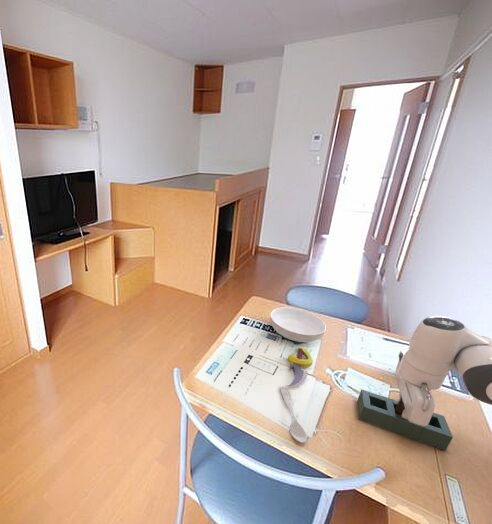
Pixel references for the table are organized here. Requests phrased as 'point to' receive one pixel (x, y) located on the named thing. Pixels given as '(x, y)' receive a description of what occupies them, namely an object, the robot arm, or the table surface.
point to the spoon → (294, 420)
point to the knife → (299, 365)
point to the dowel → (399, 406)
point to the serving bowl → (297, 324)
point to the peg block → (402, 420)
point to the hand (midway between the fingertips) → (403, 410)
